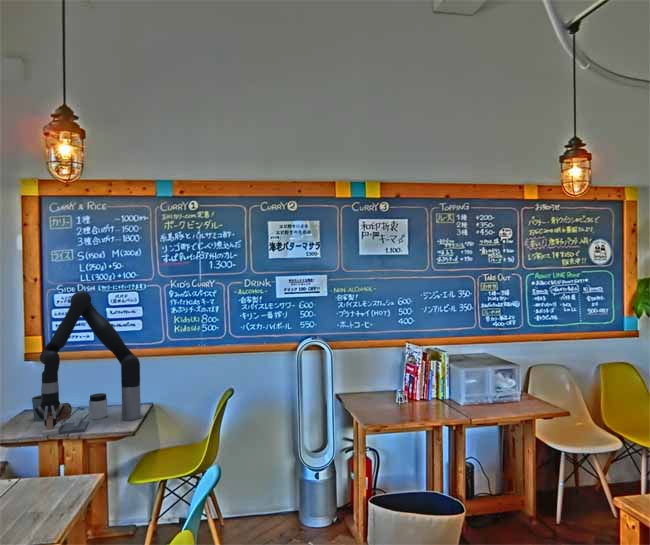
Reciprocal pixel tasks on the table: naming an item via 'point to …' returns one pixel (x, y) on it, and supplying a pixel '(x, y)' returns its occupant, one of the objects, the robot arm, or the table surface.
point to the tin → (65, 413)
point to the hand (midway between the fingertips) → (50, 426)
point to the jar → (98, 406)
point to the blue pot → (36, 403)
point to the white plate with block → (51, 427)
